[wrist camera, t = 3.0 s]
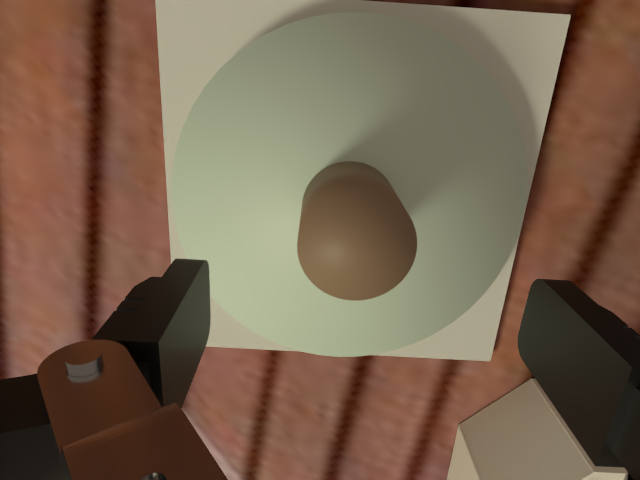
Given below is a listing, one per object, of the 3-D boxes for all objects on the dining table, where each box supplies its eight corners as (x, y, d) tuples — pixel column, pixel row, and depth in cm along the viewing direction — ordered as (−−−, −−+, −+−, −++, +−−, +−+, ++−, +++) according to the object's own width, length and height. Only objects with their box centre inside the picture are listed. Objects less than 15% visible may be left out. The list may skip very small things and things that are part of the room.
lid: (554, 27, 18) (648, 11, 13) (483, 351, 23) (529, 433, 18) (167, 2, 18) (105, -24, 12) (186, 337, 23) (147, 416, 18)
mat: (564, 15, 18) (571, 14, 18) (487, 355, 24) (490, 361, 23) (158, -12, 18) (154, -14, 17) (179, 339, 24) (176, 344, 23)
